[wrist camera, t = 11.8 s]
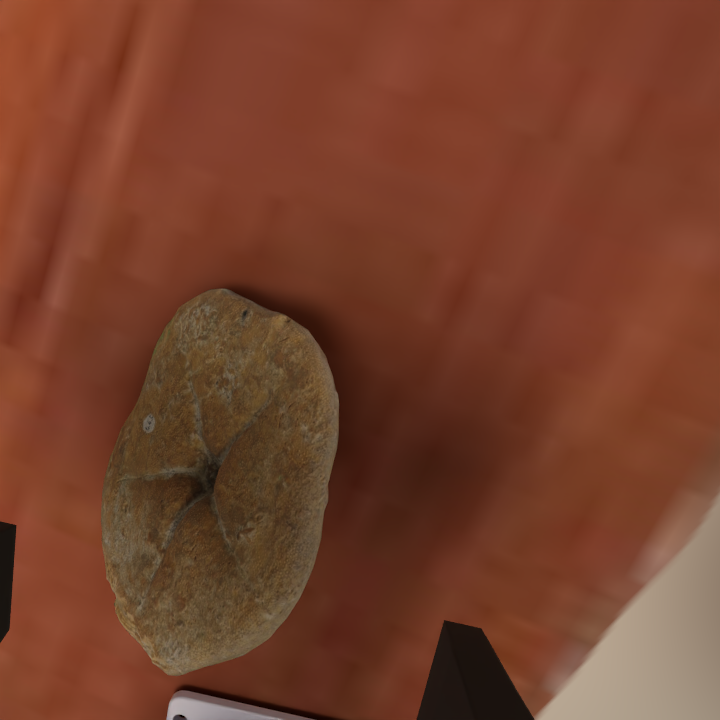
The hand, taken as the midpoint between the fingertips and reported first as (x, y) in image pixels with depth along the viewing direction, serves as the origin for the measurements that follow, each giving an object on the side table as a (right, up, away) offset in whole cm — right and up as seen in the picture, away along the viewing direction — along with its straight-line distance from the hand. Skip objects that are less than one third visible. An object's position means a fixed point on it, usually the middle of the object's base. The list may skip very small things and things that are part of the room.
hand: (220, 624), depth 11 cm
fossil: (-2, +2, +11) cm, 11 cm away
